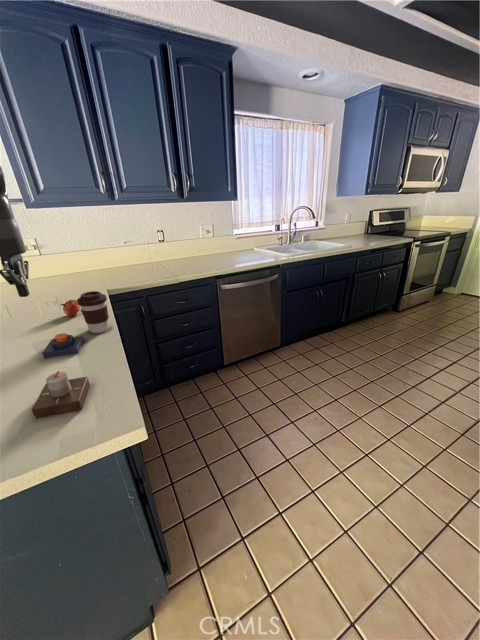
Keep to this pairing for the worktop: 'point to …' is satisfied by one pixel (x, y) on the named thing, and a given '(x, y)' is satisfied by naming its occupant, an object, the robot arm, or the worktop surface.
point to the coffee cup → (94, 311)
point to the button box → (63, 347)
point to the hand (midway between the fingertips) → (24, 296)
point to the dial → (58, 384)
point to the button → (61, 337)
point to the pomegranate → (71, 308)
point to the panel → (62, 399)
